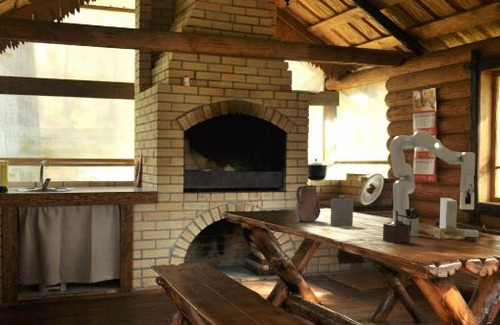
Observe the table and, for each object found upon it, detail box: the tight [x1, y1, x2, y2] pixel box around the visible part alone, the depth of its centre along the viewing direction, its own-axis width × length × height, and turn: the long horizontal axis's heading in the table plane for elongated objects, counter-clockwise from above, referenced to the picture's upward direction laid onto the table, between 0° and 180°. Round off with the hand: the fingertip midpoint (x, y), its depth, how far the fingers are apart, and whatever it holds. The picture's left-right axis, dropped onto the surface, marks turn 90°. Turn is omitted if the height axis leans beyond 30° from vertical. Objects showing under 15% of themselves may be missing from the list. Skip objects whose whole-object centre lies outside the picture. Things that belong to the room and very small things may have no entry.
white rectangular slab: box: [459, 191, 475, 210], centre depth 337 cm, size 8×2×10 cm, turn 90°
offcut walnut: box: [444, 230, 452, 235], centre depth 329 cm, size 4×4×2 cm
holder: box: [462, 228, 480, 238], centre depth 337 cm, size 12×8×4 cm, turn 90°
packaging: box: [439, 197, 458, 228], centre depth 364 cm, size 30×6×20 cm, turn 168°
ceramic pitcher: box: [294, 184, 321, 223], centre depth 391 cm, size 18×21×25 cm
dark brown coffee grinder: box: [382, 208, 418, 244], centre depth 304 cm, size 16×11×18 cm
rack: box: [425, 224, 466, 240], centre depth 334 cm, size 14×26×5 cm, turn 0°
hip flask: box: [329, 194, 354, 227], centre depth 371 cm, size 16×4×20 cm, turn 110°
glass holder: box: [402, 208, 420, 237], centre depth 331 cm, size 9×14×15 cm, turn 131°
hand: (466, 203), depth 337 cm, fingers closed on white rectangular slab, 2 cm apart
